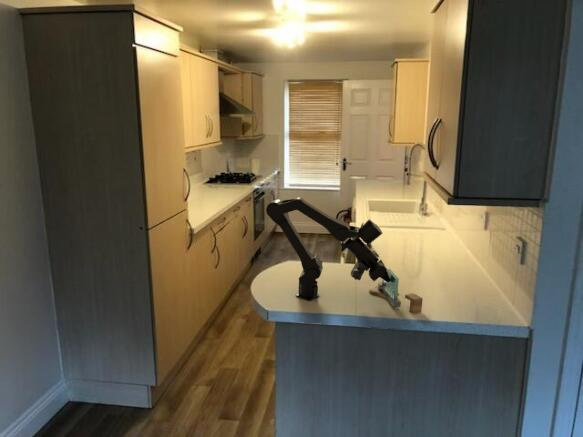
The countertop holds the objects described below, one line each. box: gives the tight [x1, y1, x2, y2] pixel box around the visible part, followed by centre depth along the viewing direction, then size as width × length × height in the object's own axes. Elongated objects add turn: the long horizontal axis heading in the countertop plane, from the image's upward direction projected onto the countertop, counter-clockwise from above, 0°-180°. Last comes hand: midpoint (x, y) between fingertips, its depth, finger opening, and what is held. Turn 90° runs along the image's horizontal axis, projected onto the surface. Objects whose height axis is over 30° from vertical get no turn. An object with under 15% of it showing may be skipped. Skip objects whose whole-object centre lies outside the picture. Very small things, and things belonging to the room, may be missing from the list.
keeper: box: [404, 292, 424, 315], centre depth 159 cm, size 5×4×5 cm
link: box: [377, 268, 402, 308], centre depth 166 cm, size 19×4×10 cm, turn 5°
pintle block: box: [368, 285, 387, 299], centre depth 174 cm, size 8×8×1 cm
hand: (389, 281), depth 164 cm, fingers closed
